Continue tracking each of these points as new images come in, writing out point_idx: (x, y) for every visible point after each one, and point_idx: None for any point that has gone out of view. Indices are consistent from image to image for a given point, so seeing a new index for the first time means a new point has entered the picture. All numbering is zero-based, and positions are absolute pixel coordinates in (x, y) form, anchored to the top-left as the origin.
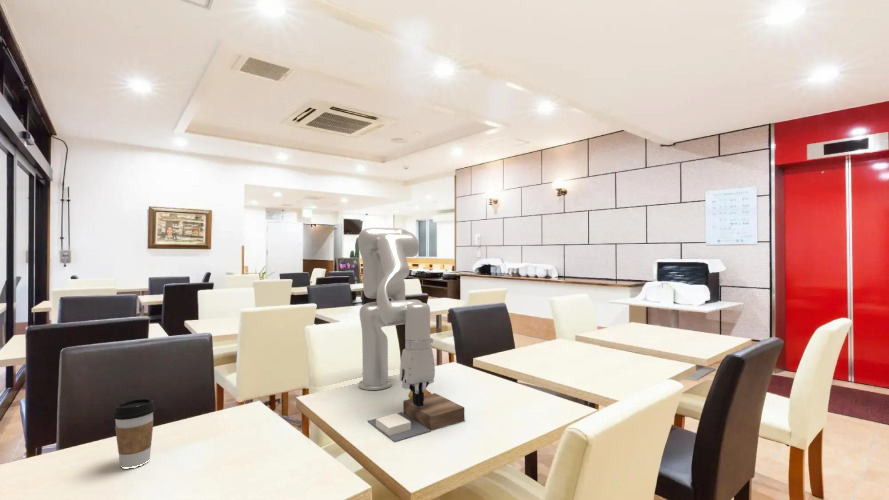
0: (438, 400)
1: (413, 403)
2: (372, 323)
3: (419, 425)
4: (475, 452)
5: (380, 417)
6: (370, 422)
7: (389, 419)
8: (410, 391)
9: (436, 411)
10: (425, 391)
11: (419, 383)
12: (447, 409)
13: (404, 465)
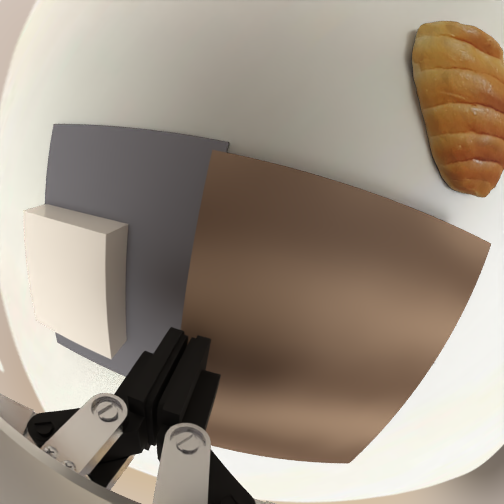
0: (384, 360)
1: (171, 327)
2: None
3: None
4: None
5: (99, 126)
6: (50, 150)
7: (53, 265)
8: (444, 25)
9: (230, 432)
10: (499, 125)
11: (164, 489)
12: (286, 447)
13: (57, 402)
